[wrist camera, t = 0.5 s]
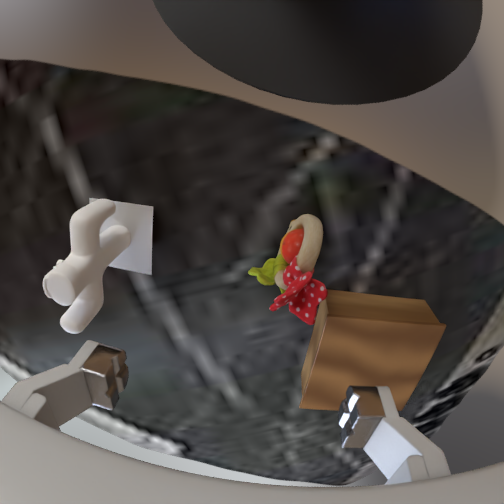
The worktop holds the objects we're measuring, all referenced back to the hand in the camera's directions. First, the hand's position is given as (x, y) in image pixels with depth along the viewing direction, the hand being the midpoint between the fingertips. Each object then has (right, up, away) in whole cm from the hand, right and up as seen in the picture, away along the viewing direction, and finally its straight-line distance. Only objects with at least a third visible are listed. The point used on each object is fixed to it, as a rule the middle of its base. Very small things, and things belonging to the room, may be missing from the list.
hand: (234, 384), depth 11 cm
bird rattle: (+5, +5, +23) cm, 24 cm away
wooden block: (+14, -6, +27) cm, 31 cm away
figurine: (-12, +8, +24) cm, 28 cm away
